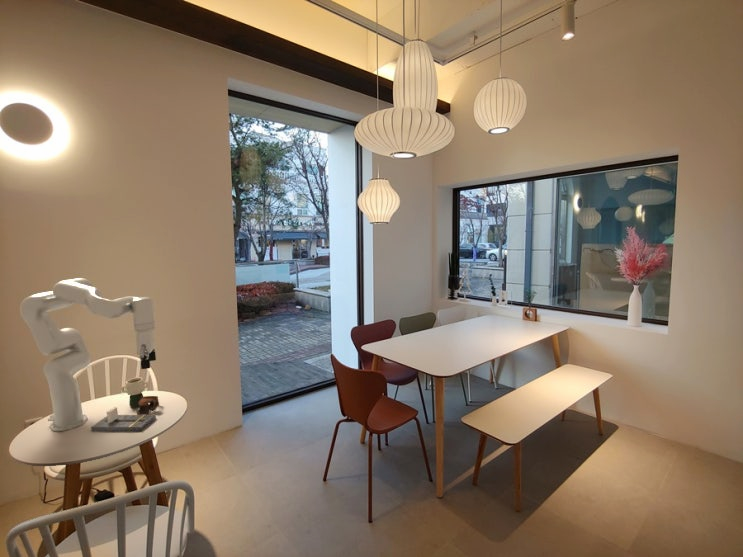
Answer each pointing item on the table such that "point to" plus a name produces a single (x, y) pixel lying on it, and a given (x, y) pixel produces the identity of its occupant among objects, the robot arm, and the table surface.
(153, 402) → the pottery mug
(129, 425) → the console
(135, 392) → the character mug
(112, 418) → the fader tab
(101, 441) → the table surface
